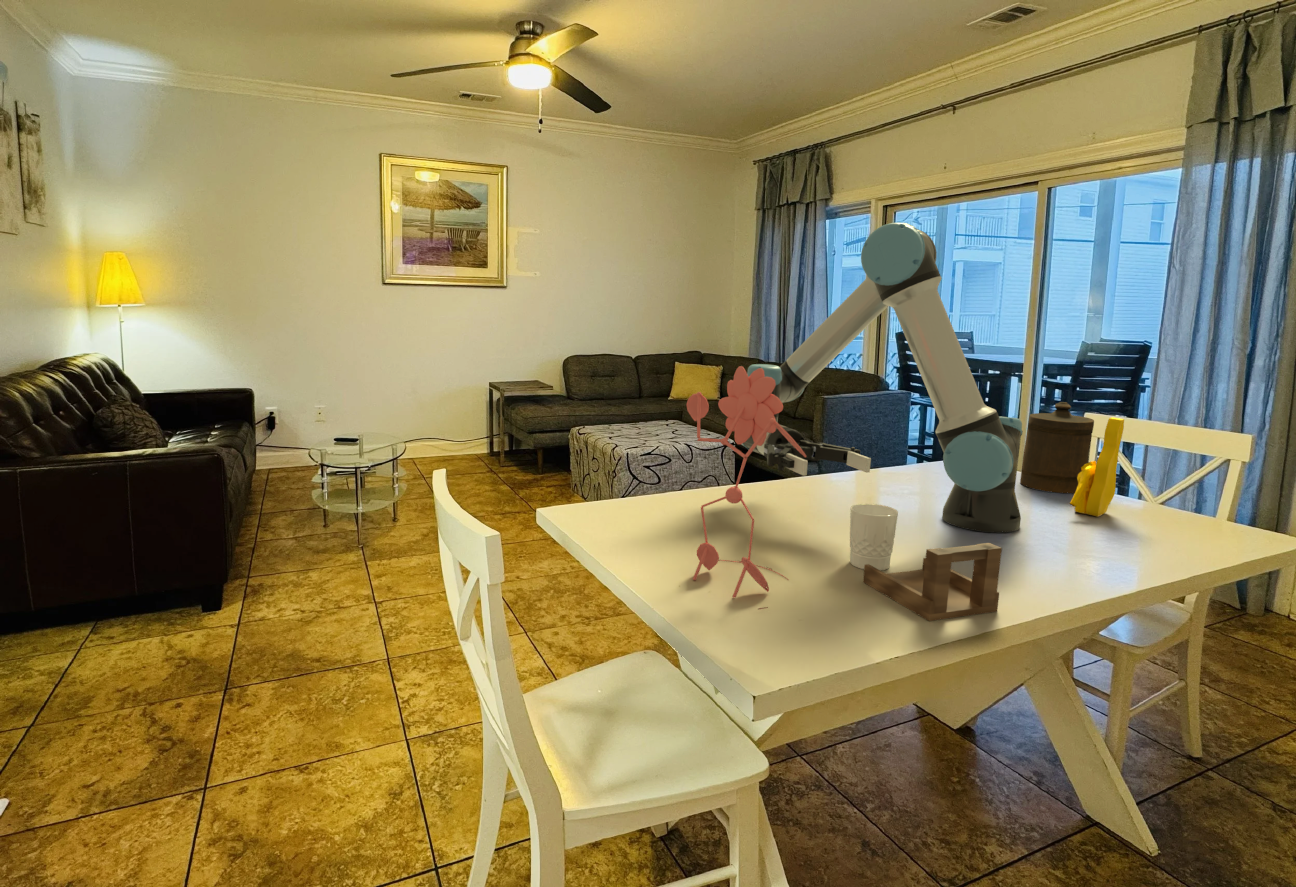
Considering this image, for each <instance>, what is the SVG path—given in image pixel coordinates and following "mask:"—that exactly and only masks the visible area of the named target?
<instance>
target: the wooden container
mask: <svg viewBox="0 0 1296 887" xmlns="http://www.w3.org/2000/svg"><path fill="white" fill-rule="evenodd" d="M1054 408H1055V410H1054V411H1053V412H1051V413H1050V412H1049V413H1048V412H1047V413H1045V412H1039V413H1038V412H1037V413H1030V414H1029V417H1028V424H1027V430H1026V438H1025V442H1024V444H1025V445H1024V449H1023V455H1022V463H1021V464H1022V465H1021V472H1020V482H1019V483H1020V484H1021V485H1022V486H1024V487H1027V488H1029V489H1032V490H1035V491H1036V490H1037V491H1040V492H1041V491H1042V492H1047V493H1055V494H1075V492H1076V489H1077V486H1078V480H1077V477H1078V474H1079V473H1080V472H1081V471H1082V470H1081V467H1082V466H1084V465H1085V464H1087V463H1089V462H1090V453H1091V446H1092V445H1091V444H1092V434H1093V431H1094V425H1095V420H1094V419H1092V418H1090V417H1086V416H1080V415H1074V414H1072V413H1071V412H1070V411H1069V410H1070V409H1071V408H1072V406H1071V405H1070V404H1069V403H1068V402H1066V401H1065V402H1064V401H1059V402H1057V403H1055V406H1054Z"/></svg>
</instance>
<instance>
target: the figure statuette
mask: <svg viewBox="0 0 1296 887" xmlns="http://www.w3.org/2000/svg"><path fill="white" fill-rule="evenodd" d="M1106 423H1107V424H1106V426H1105V430H1104V437H1103V445H1102V447H1101V451H1100V453H1099V456H1098V458H1097V459H1096V460H1091V461H1089V463H1087V464H1085V465H1084V466H1082V467H1081V470H1082V471H1081V472H1080V473H1079V474H1078V477H1077V480H1078V486H1077V489H1076V492H1075V493H1073V496H1072V498H1071V500H1070V502H1069V505H1070V506H1072V507H1074V512H1076V513H1080V514H1086V515H1090V516H1093V517H1097V518H1099V517H1100V516H1102V515H1104V514H1105V513H1107V511H1108V508H1109V506H1110V504H1111V502H1112V500H1113V499H1114V497H1115V494H1116V487H1117V486H1116V485H1117V484H1116V481H1117V466H1118V462H1119V451H1120V446H1121V441H1122V438H1123V434H1124V427H1125V426H1124V425H1125V419H1124V418H1119V417H1109V418H1108V420H1107V422H1106Z"/></svg>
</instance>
